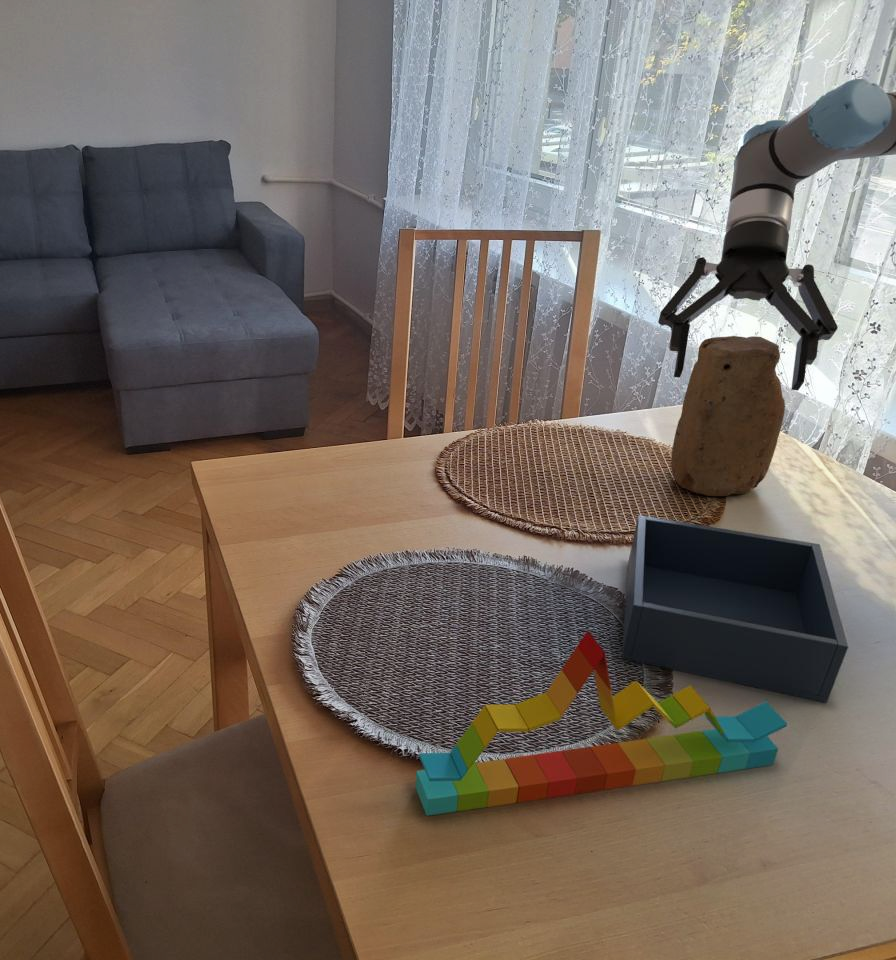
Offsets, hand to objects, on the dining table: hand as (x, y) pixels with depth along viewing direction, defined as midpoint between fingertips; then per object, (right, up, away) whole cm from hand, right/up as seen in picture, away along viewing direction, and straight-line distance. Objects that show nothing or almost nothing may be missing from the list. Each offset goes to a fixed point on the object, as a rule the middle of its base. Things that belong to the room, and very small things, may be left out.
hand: (736, 379), depth 109 cm
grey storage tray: (-14, -28, -21) cm, 37 cm away
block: (0, -14, +5) cm, 14 cm away
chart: (-33, -38, -37) cm, 62 cm away
